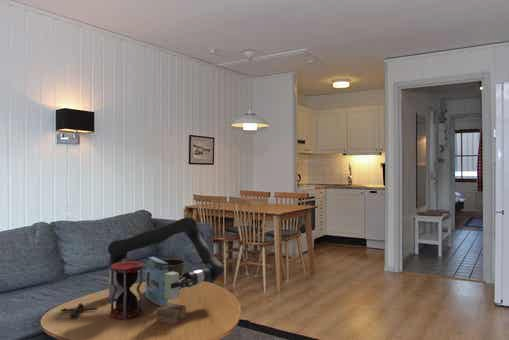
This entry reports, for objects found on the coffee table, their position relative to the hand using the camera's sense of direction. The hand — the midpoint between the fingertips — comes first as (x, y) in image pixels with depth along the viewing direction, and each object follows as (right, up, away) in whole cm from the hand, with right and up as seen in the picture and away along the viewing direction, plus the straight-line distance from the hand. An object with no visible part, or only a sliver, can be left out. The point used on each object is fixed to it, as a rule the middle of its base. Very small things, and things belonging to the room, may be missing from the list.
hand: (167, 285), depth 201 cm
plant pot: (-9, -17, +54) cm, 57 cm away
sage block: (+2, -7, +2) cm, 7 cm away
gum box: (-12, -17, +29) cm, 36 cm away
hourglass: (-23, -17, +9) cm, 30 cm away
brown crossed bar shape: (-47, -17, +9) cm, 51 cm away
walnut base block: (+1, -17, +2) cm, 18 cm away
